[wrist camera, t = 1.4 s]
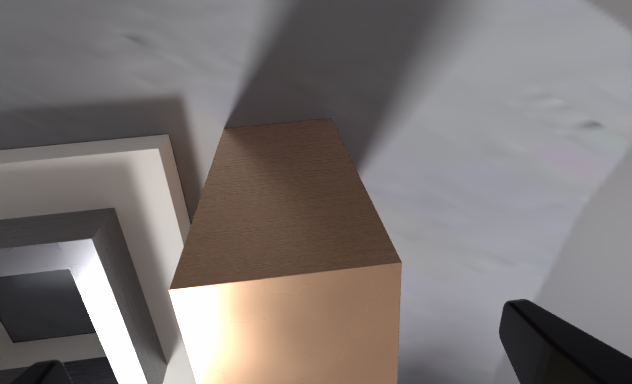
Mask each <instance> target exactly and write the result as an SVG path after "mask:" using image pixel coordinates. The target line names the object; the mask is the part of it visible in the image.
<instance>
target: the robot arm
mask: <svg viewBox="0 0 632 384" xmlns="http://www.w3.org/2000/svg"><path fill="white" fill-rule="evenodd" d="M499 335H500V339H501V342H502V344H503V346H504V349H505V351H506V353H507V355H508V357H509V360H510V362H511V364H512V366H513V368H514V371H515V373H516V375H517V377H518V380H519V382H520V384H632V358H630V357H628V356H627V355H625V354H623V353H621V352H620V351H618V350H616V349H614V348H613V347H611V346H609V345H607V344H605V343H603V342H602V341H600V340H598V339H596V338H595V337H593V336H591V335H589V334H588V333H586V332H584V331H582V330H580V329H579V328H577V327H575V326H573V325H572V324H570V323H568V322H566V321H564V320H563V319H561V318H559V317H557V316H556V315H554V314H552V313H550V312H548V311H547V310H545V309H543V308H541V307H540V306H538V305H536V304H534V303H533V302H531V301H529V300H526V299H519V300H511V301H507V302H506V303H505V304H504V307H503V312H502V317H501V322H500V327H499ZM9 384H73V382H72V380H71V378H70V377H69V375H68V373H67V371H66V369H65V367H64V365H63V363H62V362H61V361H60V360H56V359H55V360H47V361H39V362H36V363H34V364H33V365H31V366H30V367H29V368H27V369H26V370H25V371H24V372H23V373H21V374H20V375H19V376H18V377H16V378H15V379H14V380H13V381H11V382H10V383H9Z"/></svg>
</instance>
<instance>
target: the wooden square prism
mask: <svg viewBox="0 0 632 384" xmlns="http://www.w3.org/2000/svg"><path fill="white" fill-rule="evenodd" d="M401 268H402V262H401V260H400V258H399V256H398V254H397V252H396V250H395V248H394V246H393V244H392V242H391V240H390V238H389V236H388V234H387V232H386V229H385V227H384V225H383V223H382V221H381V219H380V217H379V215H378V213H377V211H376V209H375V207H374V205H373V203H372V201H371V199H370V197H369V195H368V193H367V191H366V189H365V187H364V185H363V183H362V181H361V179H360V177H359V174H358V172H357V170H356V168H355V166H354V164H353V162H352V160H351V158H350V156H349V154H348V152H347V150H346V148H345V146H344V144H343V142H342V140H341V138H340V136H339V134H338V132H337V130H336V128H335V126H334V124H333V122H332V119H331V118H330V119H320V120H309V121H299V122H288V123H278V124H267V125H257V126H246V127H236V128H225V129H223V132H222V135H221V138H220V141H219V144H218V147H217V150H216V153H215V156H214V159H213V162H212V165H211V168H210V171H209V174H208V177H207V180H206V182H205V185H204V188H203V191H202V194H201V197H200V200H199V203H198V206H197V209H196V212H195V215H194V218H193V221H192V224H191V227H190V230H189V233H188V236H187V239H186V241H185V244H184V247H183V250H182V253H181V256H180V259H179V262H178V265H177V268H176V271H175V274H174V277H173V280H172V283H171V286H170V289H169V292H170V295H171V299H172V302H173V306H174V309H175V312H176V316H177V319H178V322H179V326H180V329H181V332H182V336H183V339H184V342H185V346H186V349H187V352H188V356H189V359H190V362H191V366H192V369H193V372H194V376H195V379H196V382H197V384H397V373H398V346H399V320H400V294H401Z"/></svg>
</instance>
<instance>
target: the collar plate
mask: <svg viewBox="0 0 632 384" xmlns="http://www.w3.org/2000/svg"><path fill="white" fill-rule="evenodd" d="M190 227H191V224H190V220H189V216H188V212H187V208H186V204H185V200H184V196H183V191H182V187H181V183H180V179H179V175H178V171H177V167H176V163H175V159H174V155H173V150H172V146H171V142H170V138H169V134H165V135H155V136H144V137H134V138H123V139H113V140H102V141H92V142H81V143H71V144H60V145H50V146H39V147H29V148H18V149H8V150H0V277H2V276H11V275H19V274H28V273H37V272H46V271H54V270H63V269H70V271H71V274H72V276H73V278H74V281H75V283H76V285H77V288H78V290H79V292H80V295H81V297H82V299H83V302H84V304H85V306H86V309H87V311H88V313H89V315H90V318H91V320H92V322H93V325H94V327H95V329H96V332H97V333H91V334H83V335H75V336H67V337H59V338H51V339H43V340H35V341H27V342H19V343H13V342H12V340H11V339H10V337H9V335H8V333H7V332H6V330H5V328H4V326H3V325H2V323H1V321H0V384H9V383H10V382H11V381H13V380H14V379H15V378H16V377H18V376H19V375H20V374H21V373H23V372H24V371H25V370H26V369H27V368H29V367H30V366H31V365H33V364H34V363H36V362H39V361H47V360H55V359H56V360H60V361H61V362H62V363H63V365H64V367H65V369H66V371H67V373H68V375H69V377H70V378H71V380H72V382H73V384H197V382H196V379H195V376H194V372H193V369H192V366H191V362H190V359H189V356H188V352H187V349H186V346H185V342H184V339H183V336H182V332H181V329H180V326H179V322H178V319H177V316H176V312H175V309H174V306H173V302H172V299H171V295H170V292H169V289H170V286H171V283H172V280H173V277H174V274H175V271H176V268H177V265H178V262H179V259H180V256H181V253H182V250H183V247H184V244H185V241H186V239H187V236H188V233H189V230H190Z"/></svg>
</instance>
